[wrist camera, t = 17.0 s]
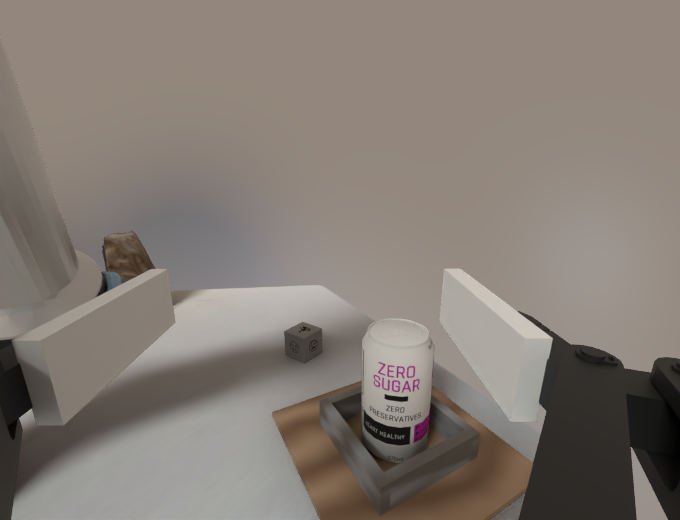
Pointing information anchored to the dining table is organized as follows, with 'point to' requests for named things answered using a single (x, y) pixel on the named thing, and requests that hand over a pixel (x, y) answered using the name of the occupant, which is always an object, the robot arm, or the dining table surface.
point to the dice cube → (303, 342)
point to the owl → (125, 255)
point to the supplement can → (396, 388)
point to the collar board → (400, 464)
